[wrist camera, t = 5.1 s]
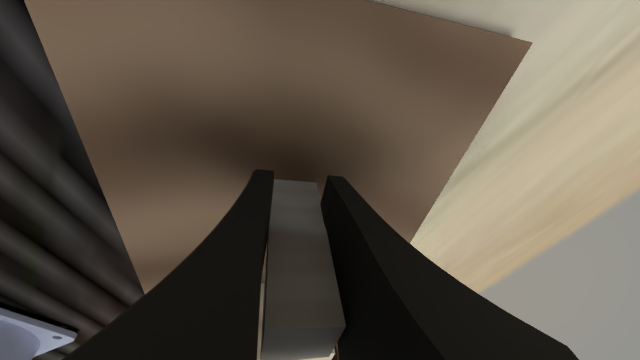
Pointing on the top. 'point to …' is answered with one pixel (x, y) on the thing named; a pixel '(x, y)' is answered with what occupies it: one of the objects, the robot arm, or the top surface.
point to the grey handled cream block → (298, 280)
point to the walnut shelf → (265, 105)
